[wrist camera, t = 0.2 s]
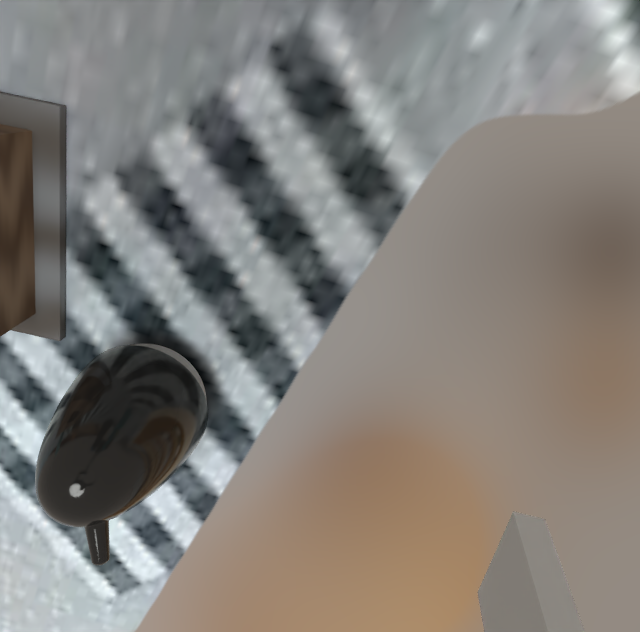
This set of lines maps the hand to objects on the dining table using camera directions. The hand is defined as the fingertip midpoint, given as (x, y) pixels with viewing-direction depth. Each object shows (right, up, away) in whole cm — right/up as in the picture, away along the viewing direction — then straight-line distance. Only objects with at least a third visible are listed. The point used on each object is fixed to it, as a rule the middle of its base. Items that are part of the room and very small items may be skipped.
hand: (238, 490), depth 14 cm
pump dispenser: (-11, -1, +33) cm, 34 cm away
